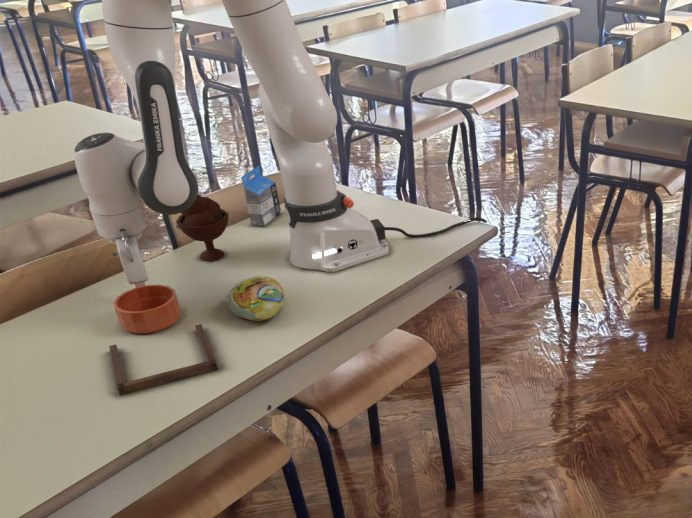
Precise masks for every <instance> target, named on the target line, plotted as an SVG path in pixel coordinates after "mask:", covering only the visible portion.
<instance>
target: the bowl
mask: <svg viewBox="0 0 692 518" xmlns="http://www.w3.org/2000/svg"><path fill="white" fill-rule="evenodd" d="M113 307H114V311H115V313H116V316H117V319H118V322H119V325H120V327H121V328H122V329H123V330H125V331H127V332H130V333H132V334H136V335H145V334H147V335H148V334H153V333H159V332H161V331H164V330H167V329H168V328H170V327H172V326H173V325H175V324H176V323H177V322H178V320H179V319H180V318H181V315H183V314H182V313H183V312H182V308H181V306H180V302H179V299H178V296H177V292H176V291H175V288H172V287H171V286H170V285H164V284H147V285H146V284H145V286H141V287H133V288H131V289H129V290H126V291H123V292H122V293H121V294H119V295H117V297H116V298H115V300H114V301H113Z"/></svg>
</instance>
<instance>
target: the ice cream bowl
mask: <svg viewBox="0 0 692 518" xmlns="http://www.w3.org/2000/svg"><path fill="white" fill-rule="evenodd" d="M229 220H230V219H229V212H227V211H226V210H224V209H223V208H221V205H220V204H219V202H217V201H215V200H214V199H213V198H210V197H208V196H202V195H200V194H198V195H197V198H196V200H195V202H194V203H193V204H192V206H191V207H190V208H188V209H187V210H185V211H183V212H181V213H180V215H179V216H178V218H177V219H176V221H175V223H176V225H177V227H178V229H179V230H180V231H181V232H182V233H183V234H184V235H186V236H187V237H188V238H190V239H192V240H193V241H197V242H203V243H204V245H205V250H204V251H202V252H201V253H200V255H199V259H200V260H201V261H202V262H208V263H209V262H215V261H219V260H221V259H223V258H224V257H225V255H226V253H225V252H224V251H223V250H222V249H220V248H215V245H214V240H216V239H218V238H220V237H221V236H222V235H223V233H225V231H226V230H227V229H226V228H227V227H228V224H229Z"/></svg>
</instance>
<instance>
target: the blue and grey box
mask: <svg viewBox="0 0 692 518" xmlns="http://www.w3.org/2000/svg"><path fill="white" fill-rule="evenodd" d="M251 176H253V177H252V178H251ZM240 179H241V183H242V185H243V189H244V196H245V201H246V205H247V209H248V214H249V220H250V225H251V226H255V227H266V226H268V225H269V223H271V222H273V220H275V219H276V218H277V217H278V216H280V215H281V214H282V210H281V205H280V198H279V194H278V193H279V192H278V189H277V184H276V181H273V180H272V179H270V178H268V177H265V176H264V175H263V174H262V172H261V168H260V165H257V166H256V167H254V168H253V169H251V170H249V171H248V172H247V173H245V174H243V175H242V176H241V177H240Z"/></svg>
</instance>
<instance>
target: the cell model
mask: <svg viewBox="0 0 692 518" xmlns="http://www.w3.org/2000/svg"><path fill="white" fill-rule="evenodd" d="M227 304H228V307H229V309H230V310H231V312H232V313H233V314H234V315H235V316H237V317H240V318H242V319H245V320H250V321H253V322H256V321H257V322H261V321H266V320H269V319H271V318H273V317H274V316H276V315H278V314H279V313H280V312H281V311H282V309H283V307H284V305H285V291H284V289H283V287H282V285H281V284H280V282H279V281H278V280H276V279H275V278H273V277H270V276H264V275H260V276H253V277H250V278H247V279H245V280H244V279H243V280H242V281H240V282H238V283H237V284H235V285H234V286H233V287H232V288H231V289H230V291H229V293H228V295H227Z"/></svg>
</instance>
